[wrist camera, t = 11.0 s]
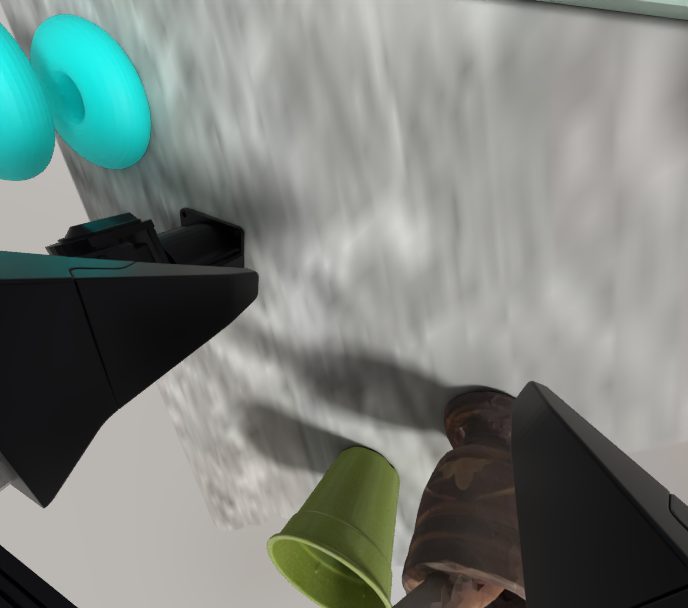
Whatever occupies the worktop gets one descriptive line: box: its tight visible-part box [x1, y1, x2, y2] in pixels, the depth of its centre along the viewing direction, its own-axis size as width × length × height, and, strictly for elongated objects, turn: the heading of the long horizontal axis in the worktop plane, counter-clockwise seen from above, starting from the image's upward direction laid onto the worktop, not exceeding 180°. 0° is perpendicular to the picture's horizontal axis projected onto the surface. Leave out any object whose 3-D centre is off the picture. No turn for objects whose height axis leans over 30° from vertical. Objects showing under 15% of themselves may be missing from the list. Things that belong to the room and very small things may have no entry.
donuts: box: [0, 14, 151, 181], centre depth 22 cm, size 10×10×10 cm
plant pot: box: [267, 447, 400, 608], centre depth 31 cm, size 12×12×11 cm
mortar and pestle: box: [391, 392, 526, 608], centre depth 18 cm, size 12×9×20 cm
